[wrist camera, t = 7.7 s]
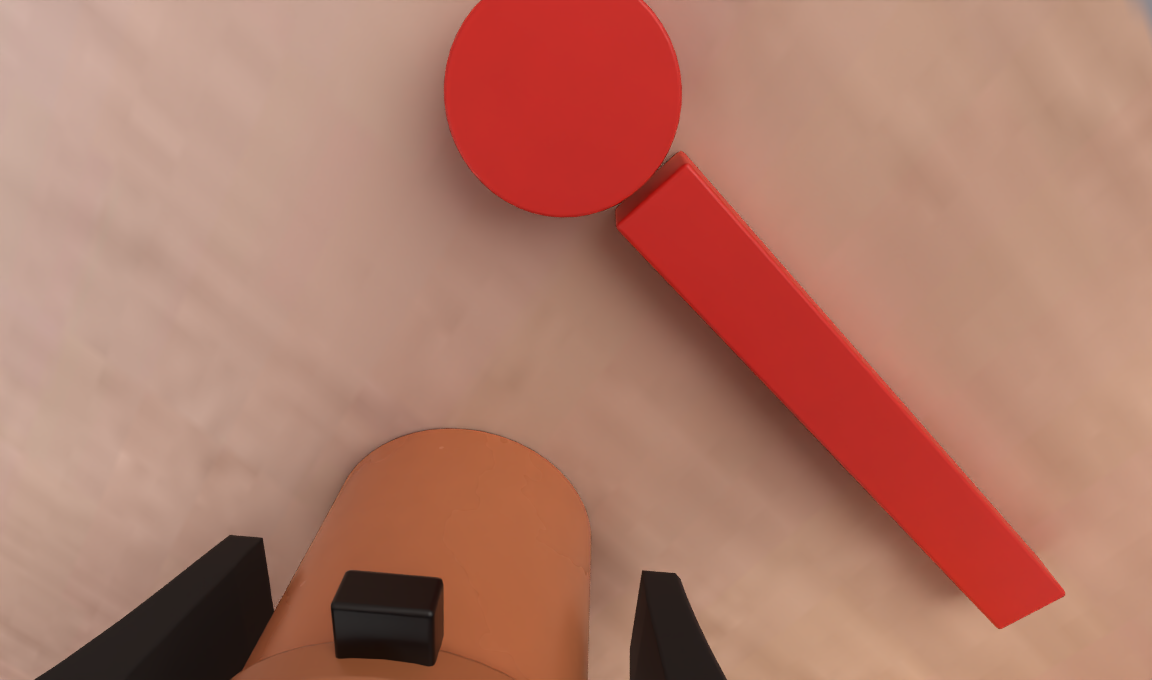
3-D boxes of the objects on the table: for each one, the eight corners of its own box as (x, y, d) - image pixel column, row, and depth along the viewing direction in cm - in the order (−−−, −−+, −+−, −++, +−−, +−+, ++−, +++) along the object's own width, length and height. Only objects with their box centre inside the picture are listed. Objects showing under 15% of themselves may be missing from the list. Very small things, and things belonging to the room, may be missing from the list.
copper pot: (585, 669, 16) (576, 982, 11) (338, 647, 16) (212, 952, 11) (619, 395, 13) (628, 653, 8) (311, 367, 13) (115, 608, 8)
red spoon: (1081, 534, 14) (1122, 579, 12) (935, 613, 15) (962, 662, 14) (569, -85, 9) (564, -97, 8) (415, 88, 10) (394, 97, 9)
